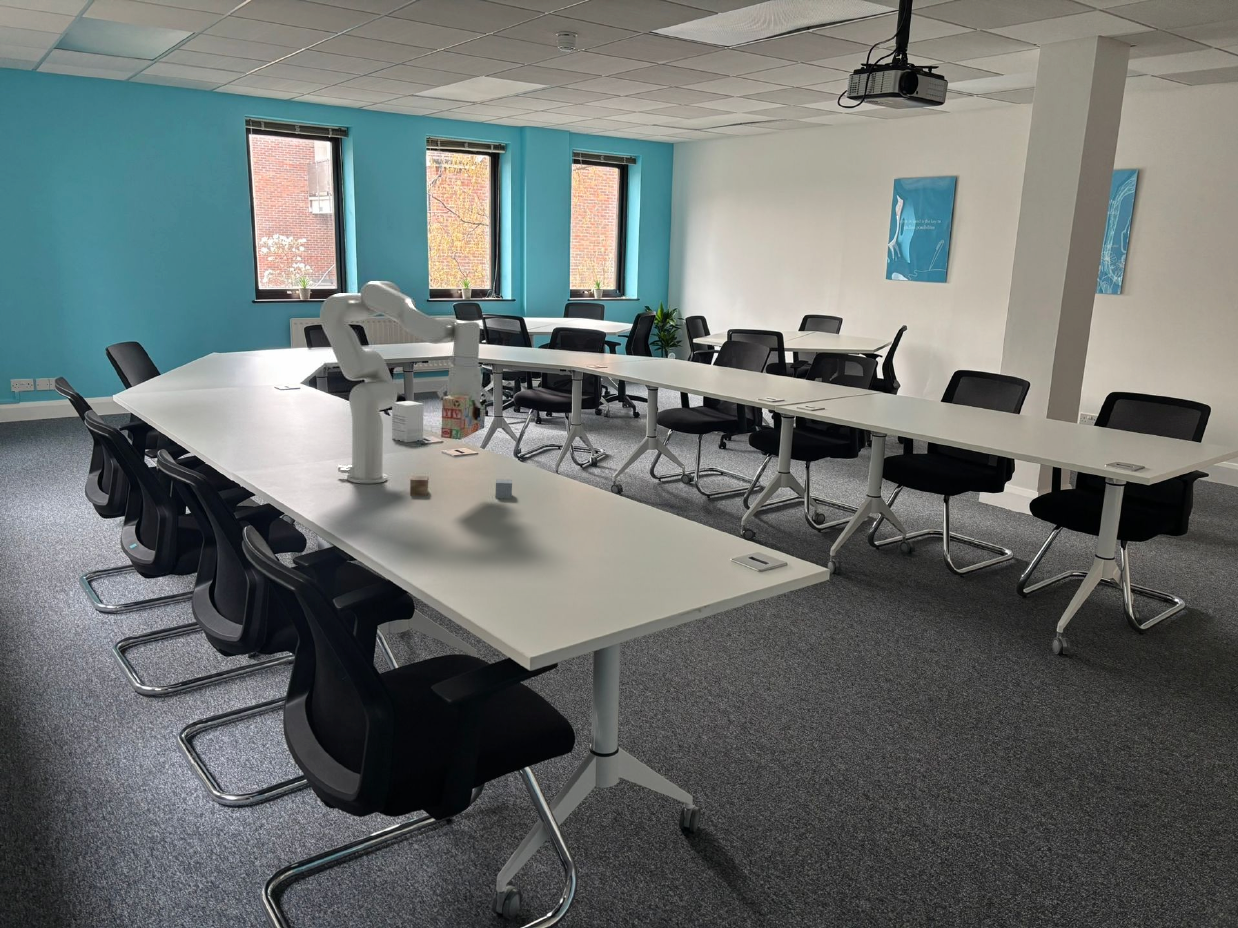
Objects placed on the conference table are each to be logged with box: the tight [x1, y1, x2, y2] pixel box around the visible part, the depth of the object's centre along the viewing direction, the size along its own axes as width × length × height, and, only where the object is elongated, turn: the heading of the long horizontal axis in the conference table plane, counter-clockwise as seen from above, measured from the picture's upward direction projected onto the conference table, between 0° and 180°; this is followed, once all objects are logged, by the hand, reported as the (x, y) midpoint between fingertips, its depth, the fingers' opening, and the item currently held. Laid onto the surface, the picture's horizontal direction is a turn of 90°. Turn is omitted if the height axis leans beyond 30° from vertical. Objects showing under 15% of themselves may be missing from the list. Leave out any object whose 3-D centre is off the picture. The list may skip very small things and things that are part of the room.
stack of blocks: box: [440, 395, 486, 441], centre depth 272 cm, size 21×6×12 cm, turn 169°
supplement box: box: [391, 400, 424, 443], centre depth 352 cm, size 9×9×15 cm
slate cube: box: [494, 478, 513, 500], centre depth 277 cm, size 5×5×5 cm
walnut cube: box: [409, 475, 429, 497], centre depth 274 cm, size 5×5×5 cm
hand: (463, 418), depth 272 cm, fingers closed on stack of blocks, 7 cm apart
